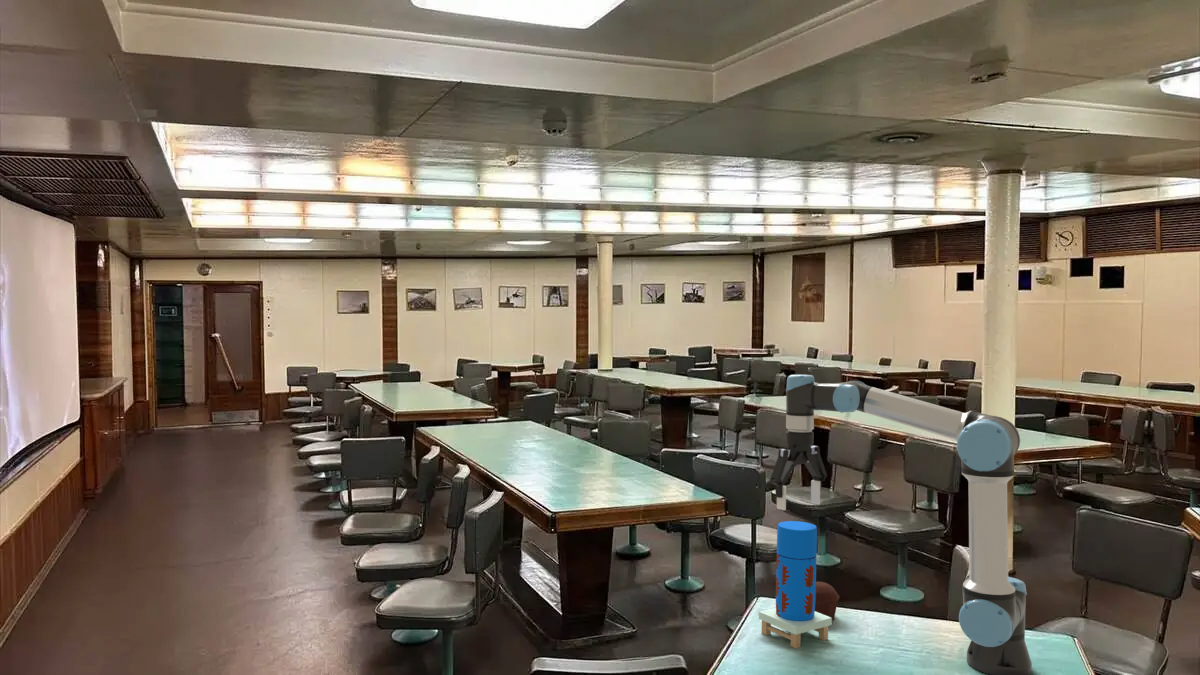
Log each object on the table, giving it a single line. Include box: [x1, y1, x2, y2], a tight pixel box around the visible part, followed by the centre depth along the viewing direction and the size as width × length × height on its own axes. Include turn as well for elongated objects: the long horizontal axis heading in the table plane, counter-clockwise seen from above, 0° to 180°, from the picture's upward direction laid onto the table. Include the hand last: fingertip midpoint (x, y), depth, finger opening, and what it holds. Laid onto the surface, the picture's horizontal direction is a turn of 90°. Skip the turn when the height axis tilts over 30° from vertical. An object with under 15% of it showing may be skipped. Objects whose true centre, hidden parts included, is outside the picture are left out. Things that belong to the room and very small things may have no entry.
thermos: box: [775, 520, 818, 621], centre depth 232 cm, size 11×11×25 cm
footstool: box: [758, 607, 833, 649], centre depth 233 cm, size 14×14×6 cm
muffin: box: [815, 581, 840, 621], centre depth 249 cm, size 12×11×10 cm
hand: (798, 506), depth 232 cm, fingers open, 13 cm apart
